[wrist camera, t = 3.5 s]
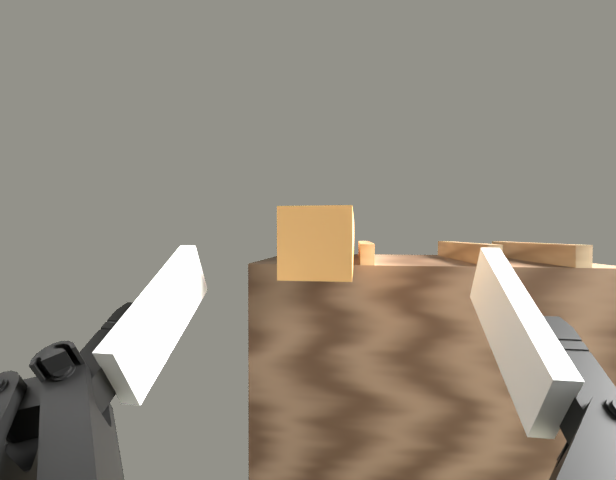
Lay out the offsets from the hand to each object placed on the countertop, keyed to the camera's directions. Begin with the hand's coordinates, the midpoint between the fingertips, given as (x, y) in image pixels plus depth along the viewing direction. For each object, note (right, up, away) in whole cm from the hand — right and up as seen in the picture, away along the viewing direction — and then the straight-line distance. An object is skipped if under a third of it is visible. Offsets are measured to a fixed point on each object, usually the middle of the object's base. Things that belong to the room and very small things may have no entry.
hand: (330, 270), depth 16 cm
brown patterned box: (+8, -30, +15) cm, 35 cm away
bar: (+1, 0, +12) cm, 12 cm away
